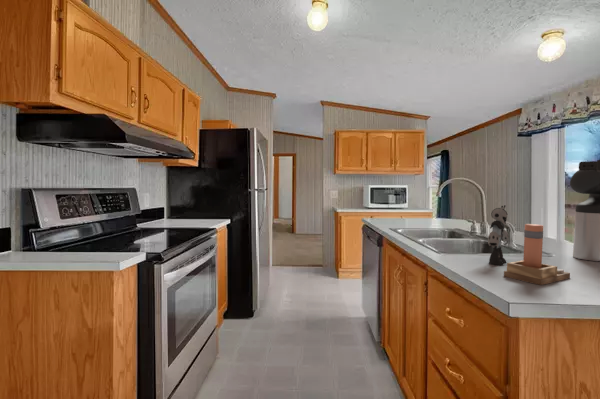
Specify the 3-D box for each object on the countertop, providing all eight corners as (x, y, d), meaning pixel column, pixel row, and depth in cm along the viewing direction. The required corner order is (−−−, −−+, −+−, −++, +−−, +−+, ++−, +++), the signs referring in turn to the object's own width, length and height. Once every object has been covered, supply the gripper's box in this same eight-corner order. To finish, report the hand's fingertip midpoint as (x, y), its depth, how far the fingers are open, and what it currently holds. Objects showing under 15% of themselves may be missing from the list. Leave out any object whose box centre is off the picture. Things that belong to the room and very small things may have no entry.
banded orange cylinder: (528, 270, 103) (530, 223, 102) (544, 273, 99) (546, 225, 98) (519, 272, 101) (521, 224, 100) (536, 276, 97) (538, 226, 96)
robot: (496, 257, 128) (498, 203, 127) (511, 259, 125) (513, 204, 124) (481, 266, 113) (484, 206, 112) (498, 269, 110) (501, 206, 109)
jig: (533, 270, 110) (533, 257, 110) (569, 277, 101) (570, 264, 101) (503, 276, 102) (504, 262, 102) (540, 285, 94) (541, 270, 93)
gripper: (688, 149, 79) (600, 153, 93) (666, 145, 72) (574, 150, 86) (686, 182, 79) (598, 181, 94) (664, 181, 73) (573, 180, 87)
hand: (587, 166), depth 90 cm, fingers open, 8 cm apart
